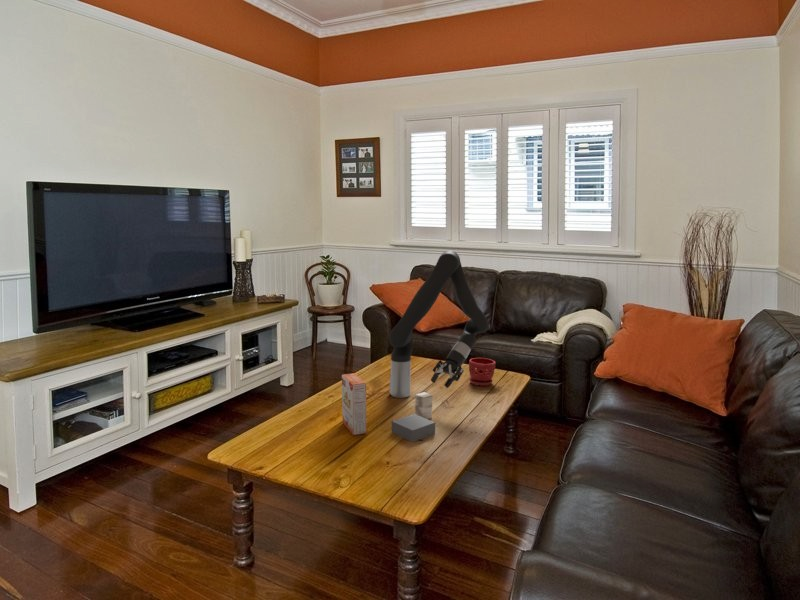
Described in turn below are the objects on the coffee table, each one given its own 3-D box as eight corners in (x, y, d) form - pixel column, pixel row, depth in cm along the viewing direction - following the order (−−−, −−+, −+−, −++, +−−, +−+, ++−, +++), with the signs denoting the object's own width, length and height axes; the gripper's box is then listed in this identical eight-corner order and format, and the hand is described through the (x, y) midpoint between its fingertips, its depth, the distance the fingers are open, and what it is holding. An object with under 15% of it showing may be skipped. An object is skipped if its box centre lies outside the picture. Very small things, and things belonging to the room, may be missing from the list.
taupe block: (415, 416, 231) (415, 394, 230) (424, 414, 234) (424, 392, 233) (422, 420, 227) (423, 397, 226) (431, 417, 231) (432, 395, 229)
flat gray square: (391, 433, 215) (391, 421, 214) (414, 425, 223) (414, 413, 222) (412, 442, 206) (412, 430, 205) (434, 434, 214) (435, 422, 213)
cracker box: (341, 423, 224) (341, 374, 220) (355, 421, 226) (355, 372, 223) (352, 436, 211) (351, 384, 208) (366, 433, 213) (366, 382, 210)
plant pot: (488, 389, 268) (489, 365, 266) (464, 384, 275) (464, 361, 273) (498, 382, 279) (499, 359, 277) (475, 377, 286) (475, 355, 284)
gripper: (443, 346, 243) (423, 375, 238) (466, 352, 232) (446, 383, 227) (451, 355, 247) (432, 384, 242) (474, 362, 236) (454, 393, 231)
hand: (439, 384), depth 234 cm, fingers open, 8 cm apart
